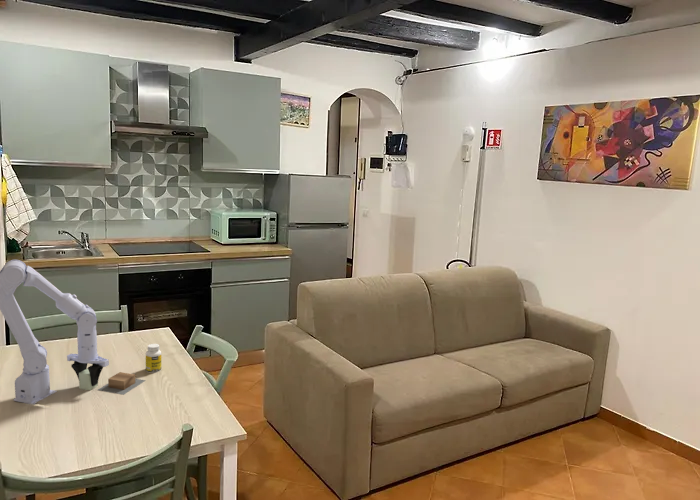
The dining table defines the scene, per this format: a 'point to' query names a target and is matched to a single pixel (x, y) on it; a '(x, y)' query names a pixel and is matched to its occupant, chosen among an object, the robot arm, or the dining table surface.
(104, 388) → the mat
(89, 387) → the sage pillar
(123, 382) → the walnut block
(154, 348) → the supplement bottle
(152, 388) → the dining table surface
